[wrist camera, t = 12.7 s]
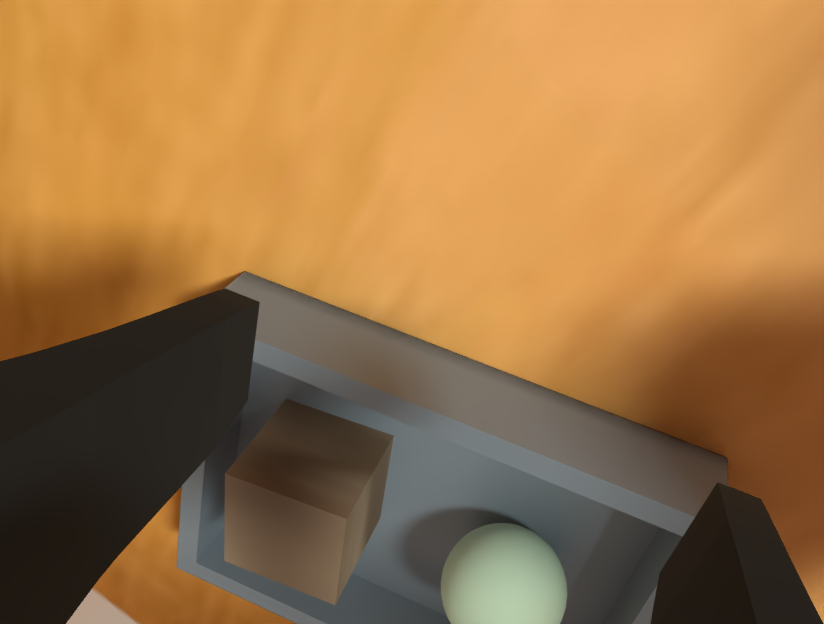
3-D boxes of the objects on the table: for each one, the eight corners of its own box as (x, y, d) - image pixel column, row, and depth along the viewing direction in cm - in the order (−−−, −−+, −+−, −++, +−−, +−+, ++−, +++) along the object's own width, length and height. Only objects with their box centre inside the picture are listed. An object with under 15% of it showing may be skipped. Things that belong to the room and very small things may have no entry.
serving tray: (727, 458, 22) (729, 531, 20) (588, 679, 29) (576, 754, 26) (244, 271, 25) (193, 314, 22) (218, 513, 31) (176, 567, 29)
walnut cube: (394, 435, 25) (346, 519, 22) (380, 518, 27) (335, 605, 24) (286, 398, 26) (225, 473, 23) (280, 481, 28) (224, 560, 25)
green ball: (577, 509, 24) (556, 612, 21) (575, 593, 26) (554, 699, 23) (457, 487, 25) (419, 581, 22) (463, 568, 27) (429, 666, 24)
